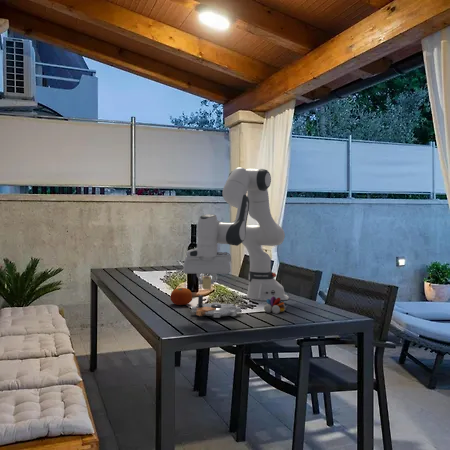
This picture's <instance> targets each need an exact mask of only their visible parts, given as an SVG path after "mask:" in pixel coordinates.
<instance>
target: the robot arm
mask: <svg viewBox="0 0 450 450" xmlns="http://www.w3.org/2000/svg"><path fill="white" fill-rule="evenodd" d="M271 182H272V175H271V173H270V172H269V170H268V169H264V168H244V167H236V168H234V169H233V170H231V171H230V172H229V174H228V178H227V180H226V181H225V184H224V186H223V188H222V198H223V200H224V201H225V202H226V204H228V205H229V206H231V207H234V208H236V209H237V210H236V215H235V220H234V221H232V222H229V221H228V222H224V221H219V219H218V217H217V215H216V214H212V213H211V214H202V215H201V216H199V218H198V222H197V228H196V229H197V230H196V231H197V232H196V235H197V242H196V247H194V248H192V249H189V250H187V251H186V256H185V259H184V261H183V270H182V271H183V273H184V274H196V277H197V279H198V284H199V285H202V284H203V283H202V282H203V280H202V278H201V277H200V276H201V274H202V275H203V274H205V275H207V274H209V275H210V274H212V276H213V277H212V278H211V285H214V284H215V280H216V278H217V276H218V275H219V274H220V275H226V274H227V275H228V274H230V273H231V266H230V262H231V260H232V257H231V256H232V255H231V254H230V253H229V252H226V251H225V252H222V251H218V244H221V245H229V246H236V247H237V246H240V245H241V244H242V245H243V246H244V247H245V248H246V250H247V253H248V256H249V257H248V258H249V271H248V281H249V282H248V288H247V292H246V295H245V296H246V298H247V299H250V300H254V301H255V300H257V301H262V302H263V301H264V302H266V300H267V299H270V300H271V298H272V297H273V296H274V297H275V298H276V299H277V298H280V301H288V300H289V299H290V298H289V297H290V296H288V295H287V294H285V289H284V286H283V285H282V284H281V283H280V282H278V281H277V280H276V279H275V278H276V277H277V273H276V272H273V271H271V267H272V266H271V265H272V262H271V261H272V259H271V257H270V254H268V253H267V252H266V251H264V250H263V249H262V246H263V247H265V246H267V247H274V246H280V245H281V244H283V242H284V241H285V237H286V236H285V235H286V234H285V230H284V228H283V227H281V226H280V225H278V223H276V221H275V219H274V218H273V216H272V214H271V209H270V200H269V199H270V198H269V191H268V189H269V187H270V186H271V184H272V183H271ZM249 216H250V218H251V219H253V220H254V221H256V222H257V223H258V224H253V223H252V224H247V221H248V217H249Z"/></svg>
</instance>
